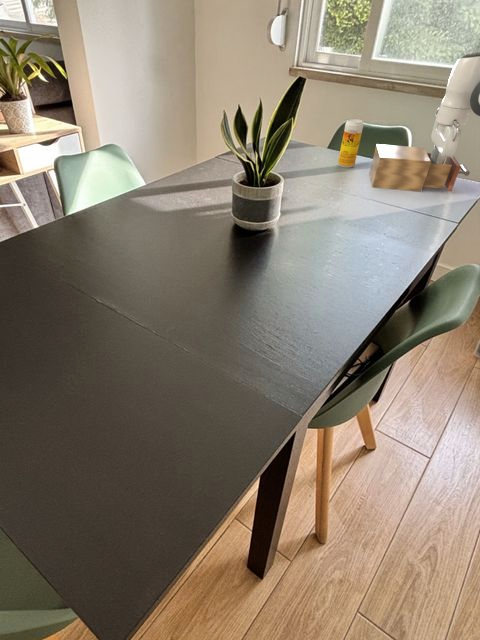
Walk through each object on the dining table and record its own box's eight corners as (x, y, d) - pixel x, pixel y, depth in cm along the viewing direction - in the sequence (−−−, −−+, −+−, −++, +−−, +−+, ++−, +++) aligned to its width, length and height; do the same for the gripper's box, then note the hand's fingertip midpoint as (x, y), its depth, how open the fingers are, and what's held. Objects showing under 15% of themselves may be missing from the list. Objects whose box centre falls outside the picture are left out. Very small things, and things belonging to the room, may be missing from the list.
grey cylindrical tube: (424, 175, 146) (435, 143, 139) (438, 178, 144) (450, 145, 137) (422, 179, 143) (432, 146, 136) (436, 182, 141) (448, 149, 134)
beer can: (337, 167, 156) (346, 122, 146) (337, 162, 161) (346, 118, 151) (354, 169, 155) (364, 123, 145) (354, 163, 160) (364, 119, 150)
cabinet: (414, 176, 150) (424, 147, 144) (421, 191, 140) (431, 161, 133) (369, 172, 153) (376, 144, 146) (372, 187, 142) (379, 157, 136)
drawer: (456, 178, 147) (466, 154, 142) (465, 192, 138) (475, 167, 132) (400, 173, 150) (407, 149, 145) (405, 187, 140) (412, 162, 135)
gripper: (471, 126, 123) (452, 175, 132) (456, 109, 138) (440, 154, 147) (448, 124, 123) (431, 173, 133) (435, 108, 139) (421, 153, 148)
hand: (435, 163), depth 140 cm, fingers closed on grey cylindrical tube, 4 cm apart
